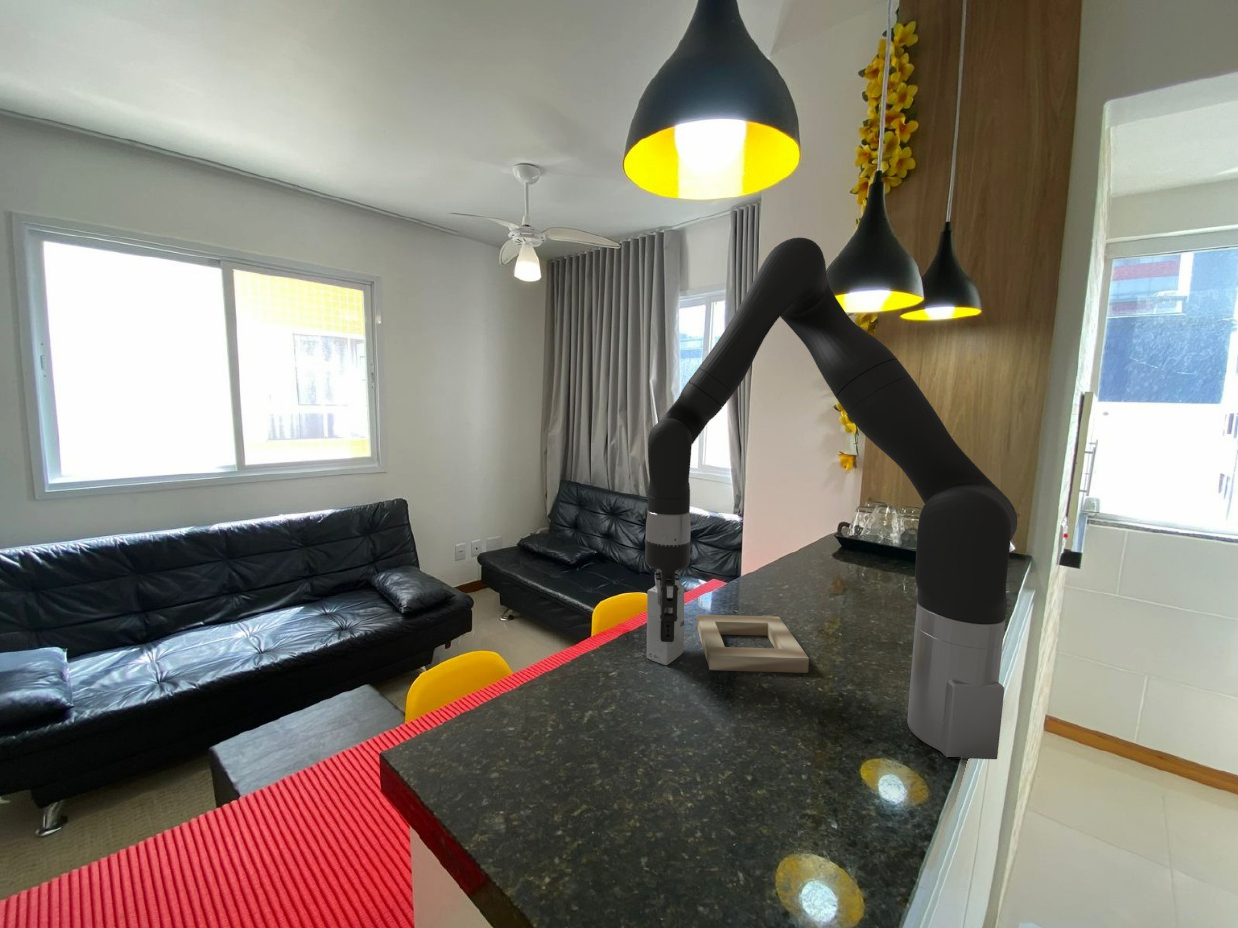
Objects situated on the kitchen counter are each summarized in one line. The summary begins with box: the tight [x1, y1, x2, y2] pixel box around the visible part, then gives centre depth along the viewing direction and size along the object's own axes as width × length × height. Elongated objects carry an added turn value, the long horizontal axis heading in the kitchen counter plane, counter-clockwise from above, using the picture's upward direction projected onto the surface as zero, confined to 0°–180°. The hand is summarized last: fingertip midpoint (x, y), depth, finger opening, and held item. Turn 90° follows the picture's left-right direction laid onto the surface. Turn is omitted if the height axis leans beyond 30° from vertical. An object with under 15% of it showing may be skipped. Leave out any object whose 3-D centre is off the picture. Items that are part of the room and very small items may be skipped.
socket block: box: [696, 614, 810, 674], centre depth 86 cm, size 16×16×2 cm
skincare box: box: [646, 584, 685, 666], centre depth 82 cm, size 6×4×12 cm
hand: (665, 630), depth 82 cm, fingers closed on skincare box, 7 cm apart
